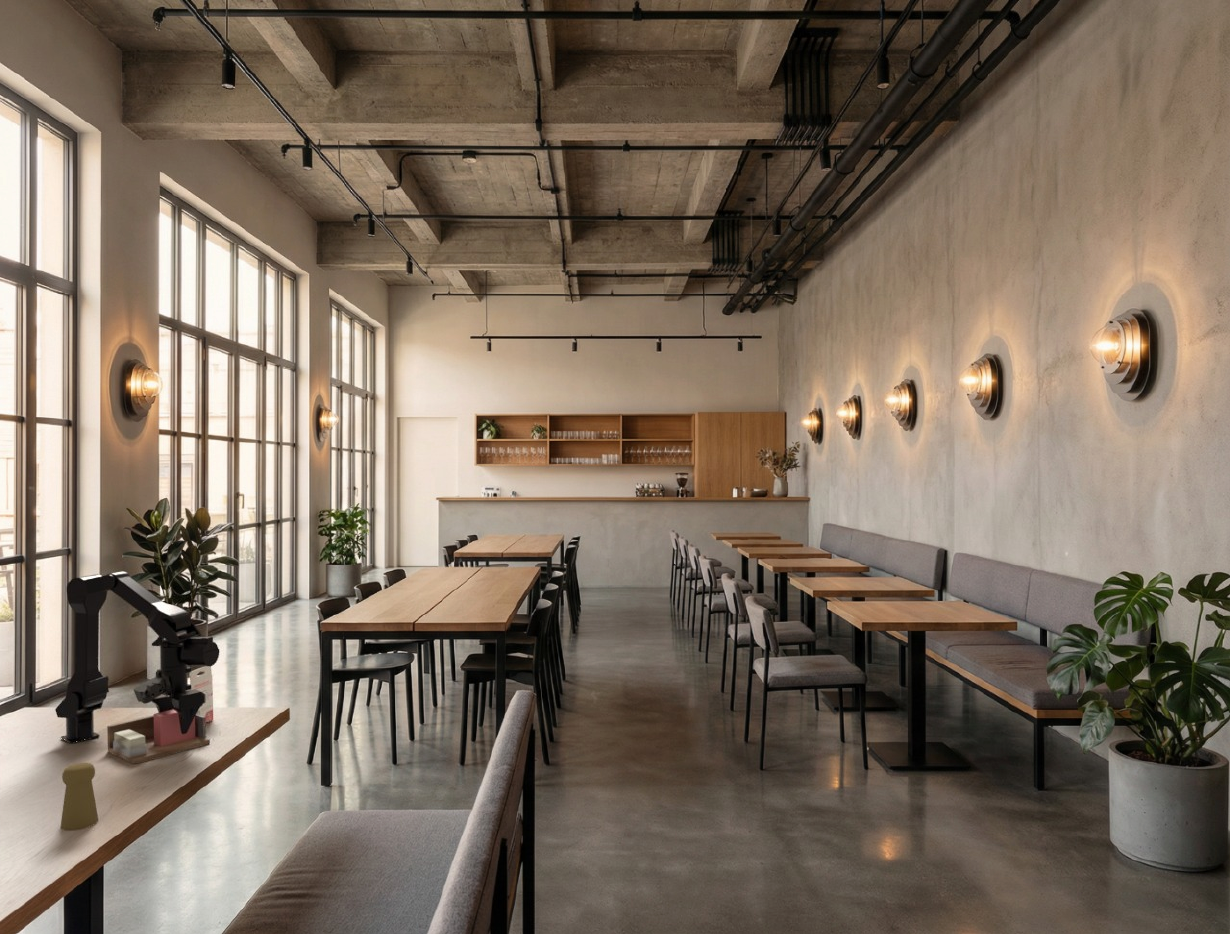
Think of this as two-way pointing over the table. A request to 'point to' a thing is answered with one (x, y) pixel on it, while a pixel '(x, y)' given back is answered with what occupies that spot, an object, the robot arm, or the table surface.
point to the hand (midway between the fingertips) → (174, 730)
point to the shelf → (148, 740)
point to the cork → (78, 797)
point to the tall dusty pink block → (170, 728)
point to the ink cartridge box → (203, 690)
